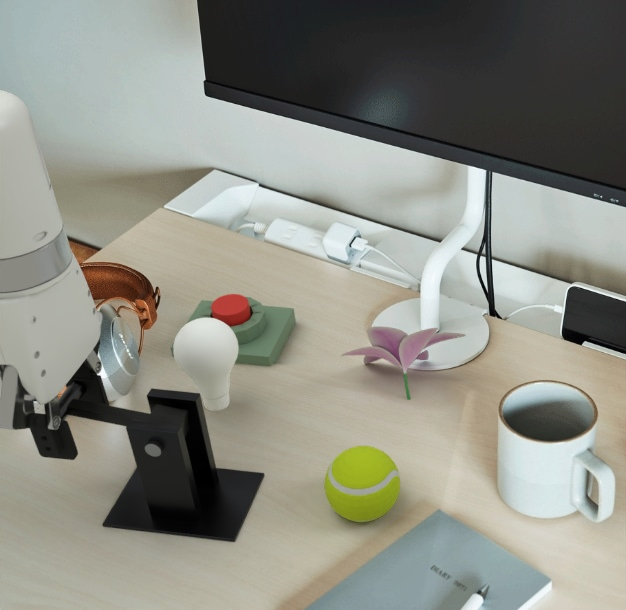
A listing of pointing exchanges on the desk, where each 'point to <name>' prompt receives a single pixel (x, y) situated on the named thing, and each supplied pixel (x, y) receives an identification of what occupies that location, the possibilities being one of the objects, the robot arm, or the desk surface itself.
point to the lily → (400, 346)
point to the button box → (257, 331)
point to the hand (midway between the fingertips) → (76, 430)
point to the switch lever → (116, 410)
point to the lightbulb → (207, 358)
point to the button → (231, 309)
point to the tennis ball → (362, 483)
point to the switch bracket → (181, 479)
